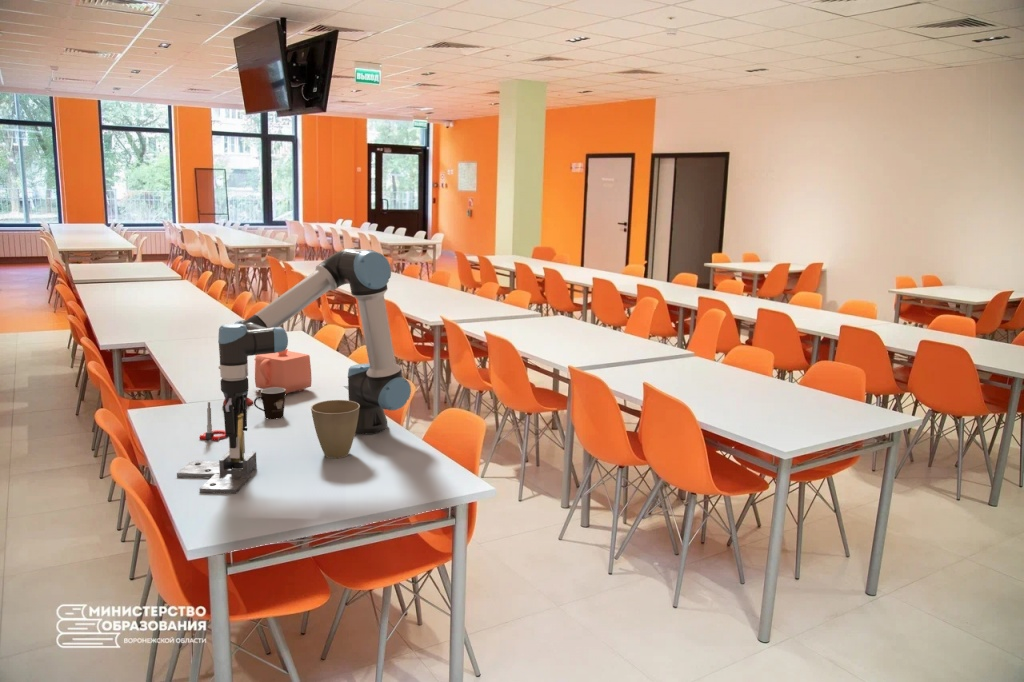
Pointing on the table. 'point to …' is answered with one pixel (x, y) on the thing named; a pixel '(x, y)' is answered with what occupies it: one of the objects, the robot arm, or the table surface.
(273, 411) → the coffee mug
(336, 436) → the plant pot
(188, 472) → the hinge leaves
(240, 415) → the brass hinge pin
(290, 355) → the teapot
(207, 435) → the tow hook
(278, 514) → the table surface
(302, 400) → the table surface
